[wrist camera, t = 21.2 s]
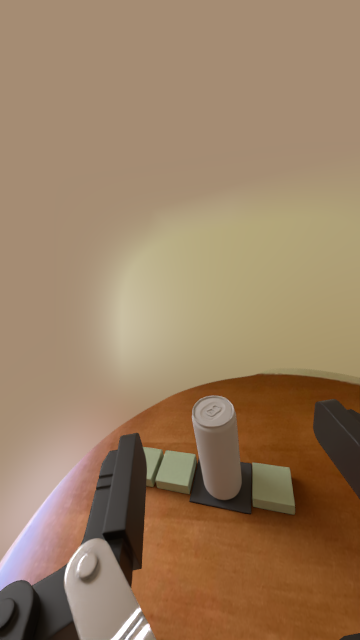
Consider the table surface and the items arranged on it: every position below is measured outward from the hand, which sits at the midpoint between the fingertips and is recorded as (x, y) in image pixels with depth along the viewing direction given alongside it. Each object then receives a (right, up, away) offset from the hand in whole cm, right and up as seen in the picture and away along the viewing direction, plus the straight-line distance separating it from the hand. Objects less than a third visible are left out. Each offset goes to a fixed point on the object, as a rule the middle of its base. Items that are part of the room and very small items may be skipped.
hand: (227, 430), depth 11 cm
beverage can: (+3, -16, +20) cm, 26 cm away
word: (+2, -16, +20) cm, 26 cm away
